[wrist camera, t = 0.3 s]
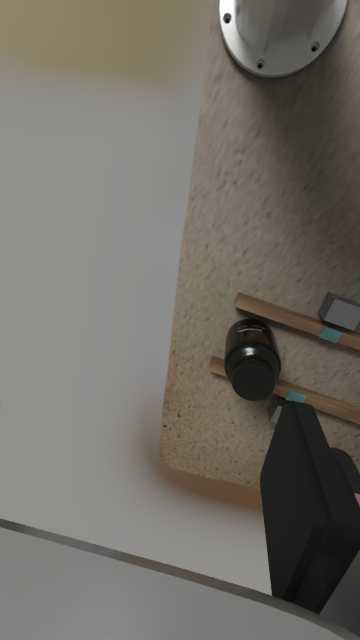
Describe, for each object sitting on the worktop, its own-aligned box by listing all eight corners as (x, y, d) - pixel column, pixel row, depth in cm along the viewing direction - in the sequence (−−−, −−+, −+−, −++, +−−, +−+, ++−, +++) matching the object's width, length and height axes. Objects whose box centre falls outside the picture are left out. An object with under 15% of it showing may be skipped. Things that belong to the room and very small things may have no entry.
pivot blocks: (328, 292, 42) (335, 298, 40) (357, 302, 42) (366, 309, 40) (267, 409, 50) (269, 421, 47) (292, 417, 50) (295, 430, 47)
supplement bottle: (253, 307, 45) (260, 343, 34) (283, 342, 46) (300, 388, 35) (215, 335, 47) (210, 377, 36) (245, 368, 48) (248, 419, 37)
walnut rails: (238, 292, 44) (238, 296, 42) (431, 359, 43) (441, 367, 41) (209, 364, 49) (208, 371, 47) (383, 426, 48) (390, 436, 46)
